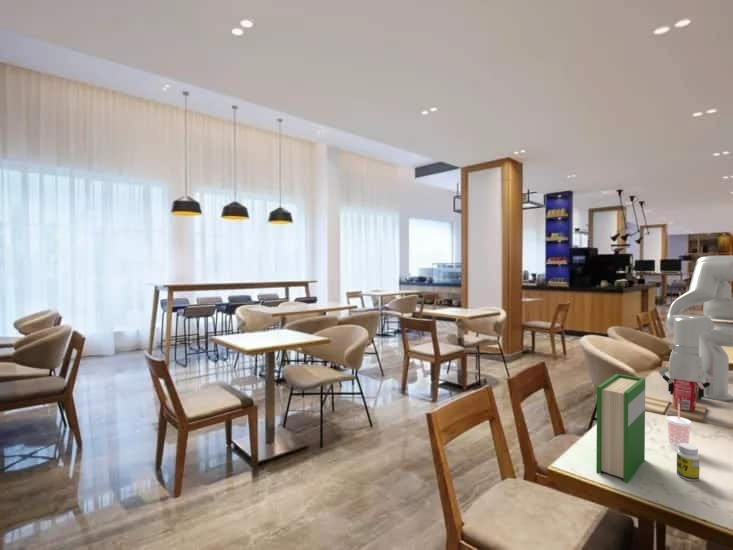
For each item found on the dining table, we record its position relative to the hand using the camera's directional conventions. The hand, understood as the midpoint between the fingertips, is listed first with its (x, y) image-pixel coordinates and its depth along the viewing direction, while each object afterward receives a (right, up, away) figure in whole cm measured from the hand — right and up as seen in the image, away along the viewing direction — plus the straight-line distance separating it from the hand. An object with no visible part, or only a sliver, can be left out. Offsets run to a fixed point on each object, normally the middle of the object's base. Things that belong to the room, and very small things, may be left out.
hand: (685, 395), depth 150 cm
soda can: (0, -5, +1) cm, 5 cm away
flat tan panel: (-7, -7, +7) cm, 12 cm away
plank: (0, -7, 0) cm, 7 cm away
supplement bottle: (-35, -9, -43) cm, 56 cm away
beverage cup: (-24, -8, -27) cm, 37 cm away
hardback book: (-49, -9, -37) cm, 62 cm away
